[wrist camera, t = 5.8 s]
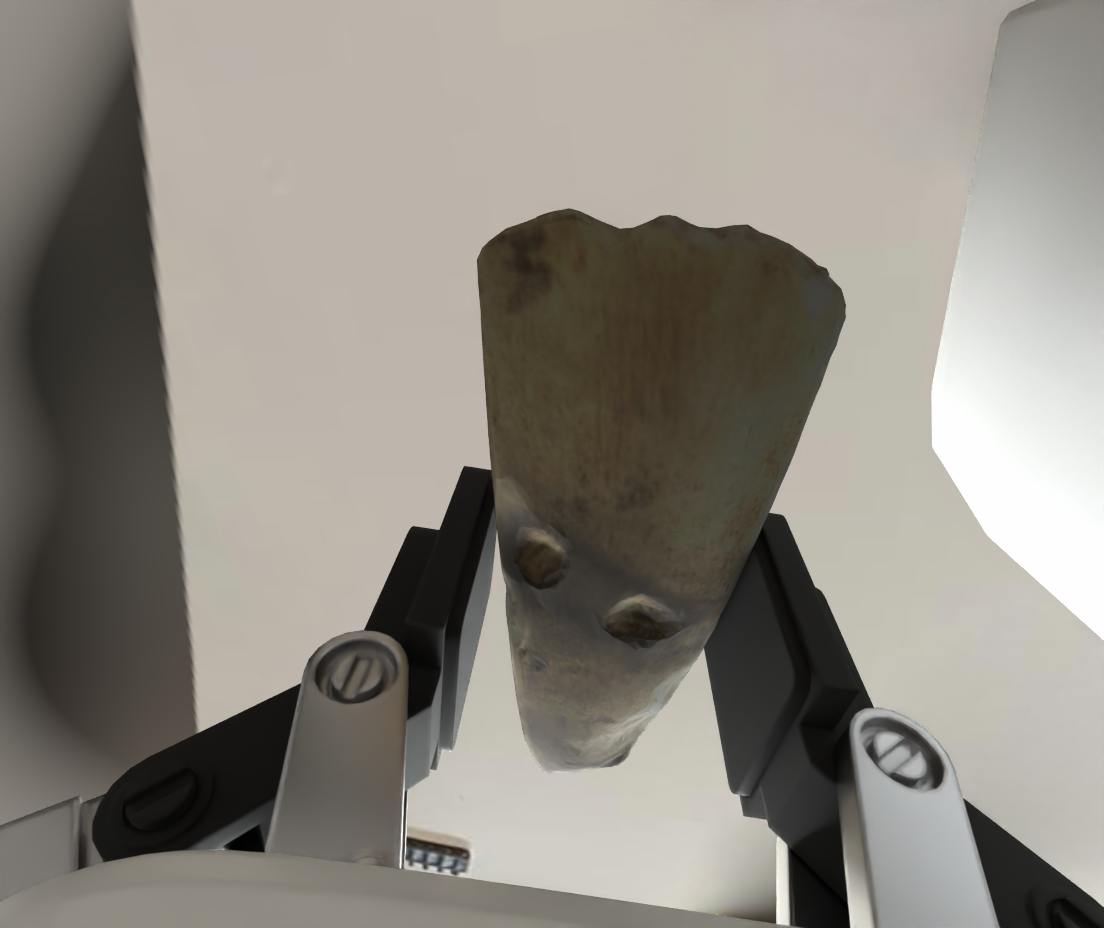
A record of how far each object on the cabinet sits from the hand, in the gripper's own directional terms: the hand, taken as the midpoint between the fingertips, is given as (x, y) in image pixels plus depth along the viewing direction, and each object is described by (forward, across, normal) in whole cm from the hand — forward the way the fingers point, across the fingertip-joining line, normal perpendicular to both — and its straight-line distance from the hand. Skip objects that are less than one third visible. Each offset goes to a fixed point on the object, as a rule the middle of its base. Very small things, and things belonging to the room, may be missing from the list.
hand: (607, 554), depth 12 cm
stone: (+1, +1, 0) cm, 1 cm away
